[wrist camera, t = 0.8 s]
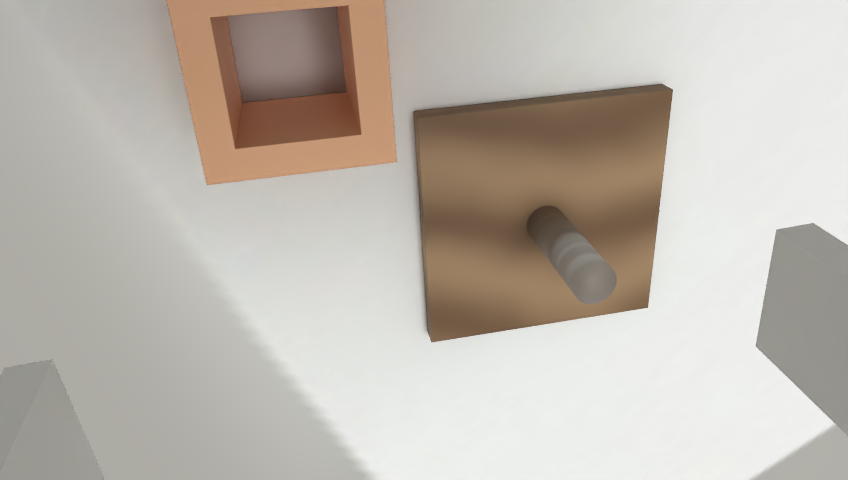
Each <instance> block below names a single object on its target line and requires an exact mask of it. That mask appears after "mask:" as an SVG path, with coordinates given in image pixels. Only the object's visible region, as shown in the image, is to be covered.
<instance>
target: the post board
mask: <svg viewBox="0 0 848 480" xmlns="http://www.w3.org/2000/svg"><path fill="white" fill-rule="evenodd" d="M672 93H673V89H671V88H669V87H667V86H665V85H663V84H658V85H649V86H640V87H631V88H622V89H613V90H604V91H595V92H586V93H577V94H568V95H559V96H549V97H540V98H531V99H522V100H513V101H504V102H495V103H486V104H477V105H468V106H459V107H450V108H441V109H432V110H423V111H414V123H415V139H416V155H417V170H418V186H419V202H420V218H421V234H422V250H423V266H424V281H425V297H426V313H427V329H428V334H429V337H430V339H431V342H437V341H443V340H449V339H455V338H462V337H468V336H474V335H480V334H487V333H493V332H499V331H505V330H511V329H518V328H524V327H530V326H536V325H543V324H549V323H555V322H561V321H568V320H574V319H580V318H586V317H593V316H599V315H605V314H611V313H618V312H624V311H630V310H636V309H642V308H648V302H649V293H650V284H651V276H652V267H653V258H654V250H655V241H656V232H657V223H658V215H659V206H660V197H661V189H662V180H663V171H664V162H665V154H666V145H667V136H668V128H669V119H670V110H671V101H672Z"/></svg>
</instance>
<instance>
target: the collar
mask: <svg viewBox="0 0 848 480" xmlns="http://www.w3.org/2000/svg"><path fill="white" fill-rule="evenodd" d="M167 5H168V9H169V14H170V18H171V23H172V28H173V32H174V37H175V41H176V46H177V51H178V55H179V60H180V64H181V69H182V74H183V78H184V83H185V87H186V92H187V97H188V101H189V106H190V110H191V115H192V119H193V124H194V129H195V133H196V138H197V142H198V147H199V152H200V156H201V161H202V165H203V170H204V175H205V179H206V184H207V185H211V184H220V183H228V182H236V181H244V180H253V179H261V178H269V177H277V176H286V175H294V174H302V173H311V172H319V171H327V170H335V169H344V168H352V167H360V166H369V165H377V164H385V163H393V162H397V157H396V144H395V131H394V118H393V105H392V92H391V79H390V66H389V53H388V40H387V27H386V15H385V2H384V0H167ZM335 6H337V10H338V19H339V28H340V38H341V47H342V56H343V65H344V75H345V84H346V92H341V93H332V94H322V95H312V96H303V97H293V98H284V99H274V100H265V101H255V102H246V103H242V99H241V93H240V88H239V82H238V77H237V71H236V66H235V60H234V55H233V49H232V44H231V38H230V32H229V27H228V21H227V16H231V15H243V14H254V13H266V12H277V11H289V10H300V9H312V8H324V7H335Z"/></svg>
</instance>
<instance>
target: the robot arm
mask: <svg viewBox="0 0 848 480" xmlns="http://www.w3.org/2000/svg"><path fill="white" fill-rule="evenodd" d="M756 347H757V348H758V349H759V350H760V351H761V352H762V353H763V354H764V355H765V356H766V357H767V358H768V359H769V360H770V361H771V362H772V363H773V364H774V365H776V366H777V367H778V368H779V369H780V370H781V371H782V372H783V373H784V374H785V375H786V376H787V377H788V378H789V379H790V380H791V381H792V382H793V383H794V384H795V385H796V386H797V387H798V388H799V389H800V390H801V391H802V392H803V393H804V394H805V395H806V396H807V397H808V398H809V399H811V400H812V401H813V402H814V403H815V404H816V405H817V406H818V407H819V408H820V409H821V410H822V411H823V412H824V413H825V414H826V415H827V416H828V417H829V418H830V419H831V420H832V421H833V422H834V423H835V424H836V425H837V426H838V427H839V428H840V429H841V430H842V431H843V432H845V433H846V434H847V435H848V245H847V244H845V243H843V242H842V241H840V240H839V239H837V238H836V237H834V236H832V235H831V234H829V233H828V232H826V231H825V230H823V229H822V228H820V227H818V226H817V225H815V224H814V223H811V224H806V225H800V226H794V227H789V228H783V229H778V230H776V235H775V240H774V246H773V252H772V257H771V263H770V268H769V274H768V280H767V285H766V291H765V297H764V302H763V308H762V313H761V319H760V325H759V330H758V336H757V341H756ZM103 479H104V476H103V474H102V471H101V469H100V467H99V464H98V462H97V460H96V457H95V456H94V453H93V451H92V448H91V446H90V444H89V441H88V439H87V437H86V435H85V432H84V430H83V428H82V425H81V423H80V421H79V419H78V416H77V414H76V412H75V410H74V407H73V405H72V403H71V401H70V398H69V396H68V394H67V391H66V389H65V387H64V384H63V382H62V380H61V377H60V375H59V373H58V370H57V368H56V366H55V364H54V361H53V359H52V360H46V361H40V362H35V363H29V364H24V365H18V366H12V367H7V368H4V369H3V371H2V372H1V374H0V480H103Z"/></svg>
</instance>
